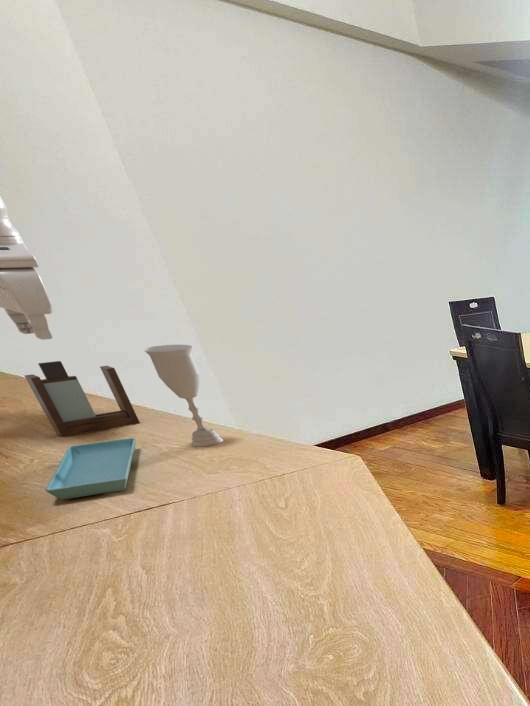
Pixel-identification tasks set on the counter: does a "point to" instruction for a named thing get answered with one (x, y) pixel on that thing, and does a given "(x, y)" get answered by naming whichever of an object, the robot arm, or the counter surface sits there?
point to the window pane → (65, 392)
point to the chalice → (182, 383)
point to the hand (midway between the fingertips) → (36, 336)
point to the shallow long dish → (93, 469)
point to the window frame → (88, 424)
